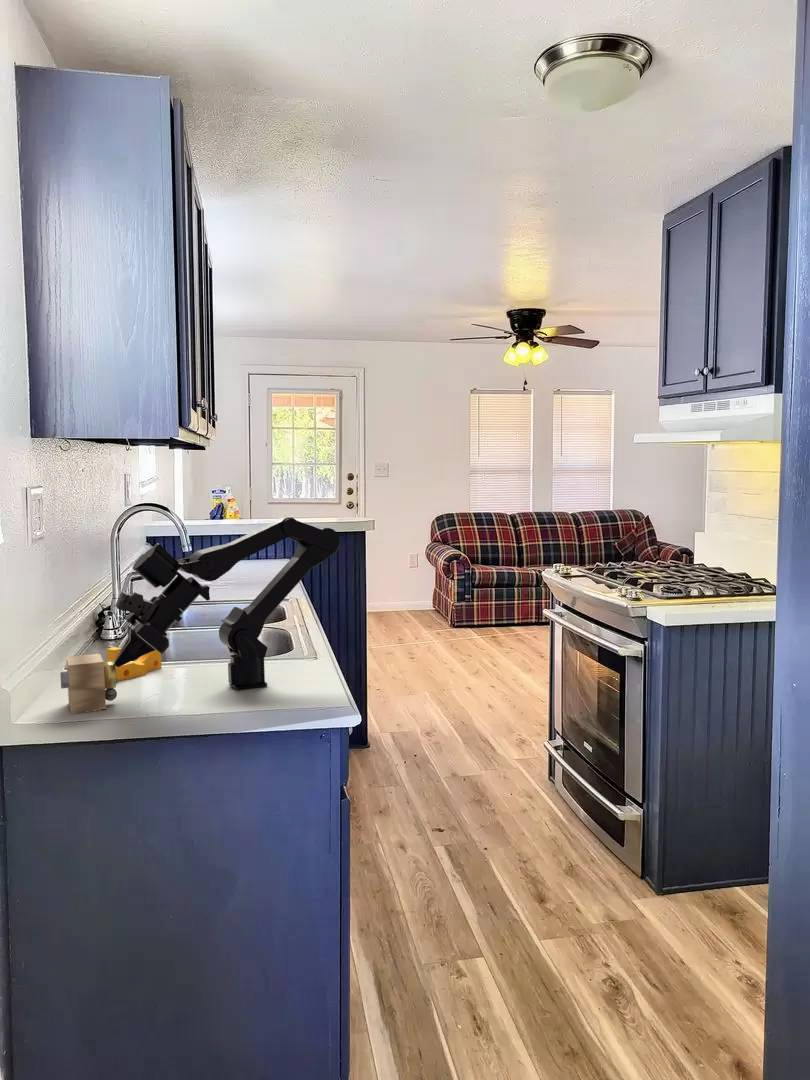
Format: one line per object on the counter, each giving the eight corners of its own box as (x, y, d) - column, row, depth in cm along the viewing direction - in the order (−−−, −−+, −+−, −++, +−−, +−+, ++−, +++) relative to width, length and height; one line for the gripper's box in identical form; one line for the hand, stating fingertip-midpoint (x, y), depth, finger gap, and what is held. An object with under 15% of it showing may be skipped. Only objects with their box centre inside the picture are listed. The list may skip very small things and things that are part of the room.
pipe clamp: (120, 681, 177) (119, 651, 176) (108, 678, 179) (106, 648, 179) (166, 669, 187) (165, 641, 186) (154, 667, 189) (153, 639, 189)
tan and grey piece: (115, 696, 161) (113, 658, 161) (118, 702, 157) (116, 664, 156) (61, 703, 157) (59, 664, 157) (62, 709, 153) (60, 669, 152)
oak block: (102, 699, 162) (99, 653, 161) (105, 709, 155) (103, 661, 154) (68, 703, 159) (66, 656, 159) (71, 714, 152) (68, 665, 151)
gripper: (134, 571, 168) (78, 630, 164) (147, 581, 151) (85, 648, 147) (176, 606, 172) (122, 665, 168) (193, 620, 155) (134, 686, 151)
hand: (115, 665), depth 159 cm, fingers closed, pressing on tan and grey piece
